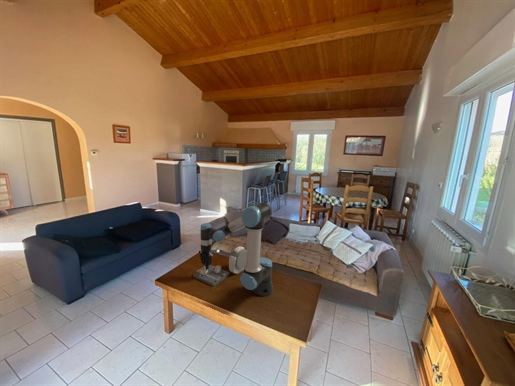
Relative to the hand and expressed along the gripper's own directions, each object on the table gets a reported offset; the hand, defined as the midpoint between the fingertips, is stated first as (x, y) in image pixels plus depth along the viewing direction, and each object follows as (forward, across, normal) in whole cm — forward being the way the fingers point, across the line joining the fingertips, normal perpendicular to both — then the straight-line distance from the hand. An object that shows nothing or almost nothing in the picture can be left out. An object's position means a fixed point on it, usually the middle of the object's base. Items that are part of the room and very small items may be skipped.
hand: (206, 272), depth 166 cm
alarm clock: (+4, -15, -22) cm, 27 cm away
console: (+4, -2, -4) cm, 6 cm away
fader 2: (+2, -5, -8) cm, 10 cm away
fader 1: (+2, +2, 0) cm, 3 cm away
